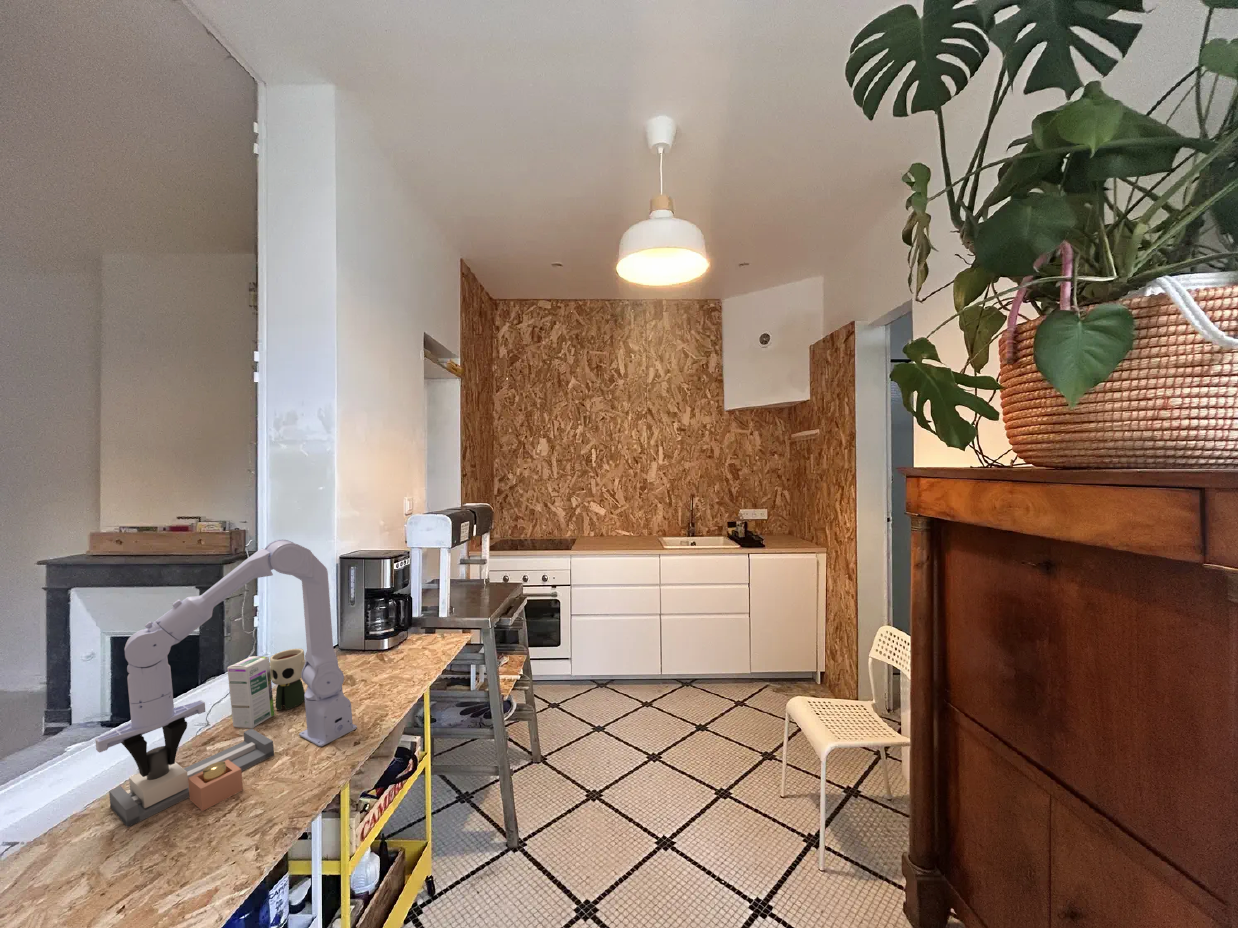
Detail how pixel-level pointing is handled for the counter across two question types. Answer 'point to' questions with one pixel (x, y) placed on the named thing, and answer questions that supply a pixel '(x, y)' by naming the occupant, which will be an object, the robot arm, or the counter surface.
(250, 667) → the syrup box
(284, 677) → the character mug
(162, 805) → the rail
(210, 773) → the button
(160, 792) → the carriage
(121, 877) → the counter surface
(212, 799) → the box
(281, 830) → the counter surface
